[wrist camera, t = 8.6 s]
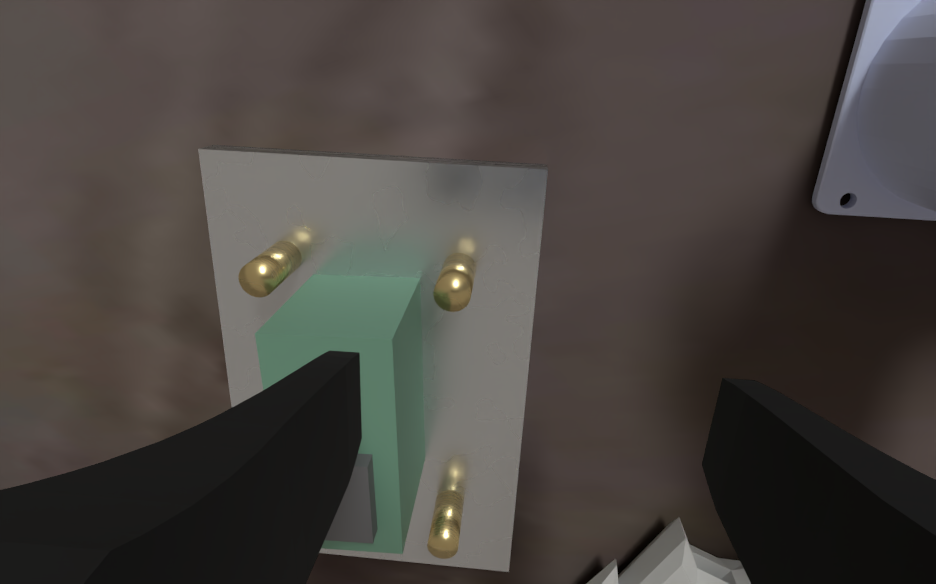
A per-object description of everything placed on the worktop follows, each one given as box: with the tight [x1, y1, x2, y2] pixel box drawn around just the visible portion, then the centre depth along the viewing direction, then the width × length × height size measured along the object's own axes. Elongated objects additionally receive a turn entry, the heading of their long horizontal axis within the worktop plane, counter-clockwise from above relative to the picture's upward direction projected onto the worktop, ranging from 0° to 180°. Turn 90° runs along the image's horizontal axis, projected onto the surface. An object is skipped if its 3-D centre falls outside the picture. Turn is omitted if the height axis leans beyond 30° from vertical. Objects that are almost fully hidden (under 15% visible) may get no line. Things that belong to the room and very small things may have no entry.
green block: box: [255, 275, 425, 554], centre depth 20 cm, size 4×8×6 cm, turn 0°
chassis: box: [198, 145, 548, 572], centre depth 22 cm, size 12×18×4 cm, turn 177°
